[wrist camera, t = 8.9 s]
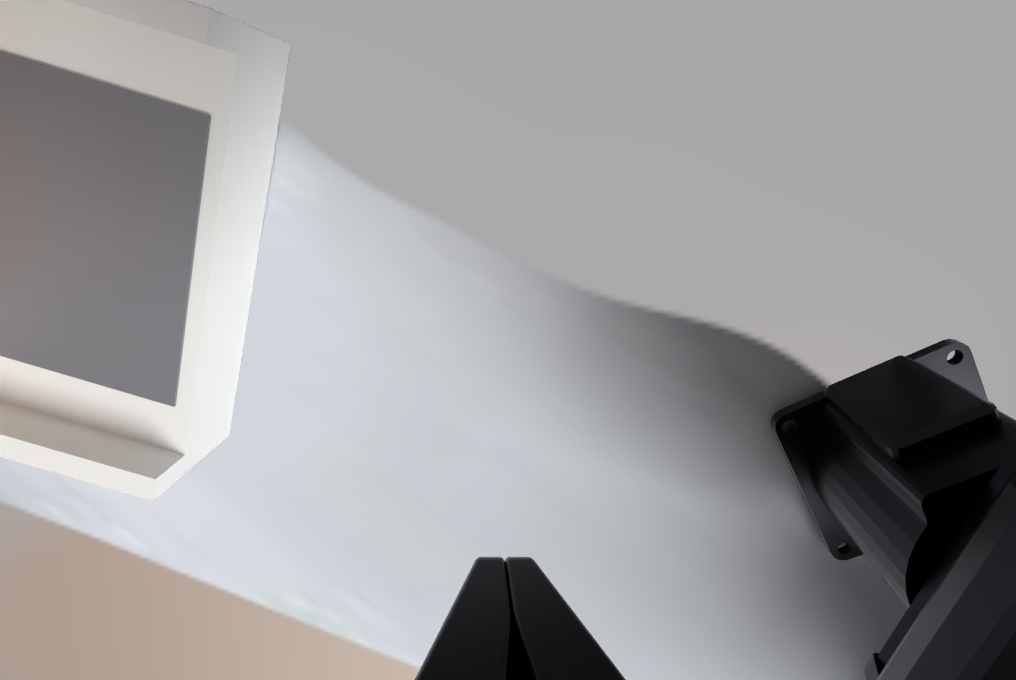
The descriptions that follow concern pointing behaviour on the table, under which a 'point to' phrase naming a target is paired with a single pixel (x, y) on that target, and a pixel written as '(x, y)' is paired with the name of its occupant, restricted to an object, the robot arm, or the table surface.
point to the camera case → (128, 230)
